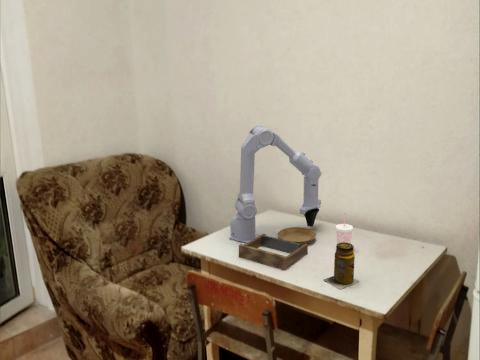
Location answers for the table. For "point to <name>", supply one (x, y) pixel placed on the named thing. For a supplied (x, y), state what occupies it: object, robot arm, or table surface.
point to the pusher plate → (279, 244)
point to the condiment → (343, 266)
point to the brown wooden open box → (270, 254)
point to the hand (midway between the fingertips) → (310, 225)
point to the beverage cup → (344, 232)
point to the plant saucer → (297, 235)
